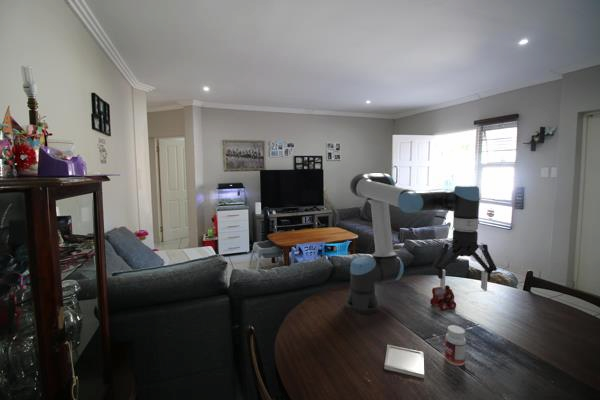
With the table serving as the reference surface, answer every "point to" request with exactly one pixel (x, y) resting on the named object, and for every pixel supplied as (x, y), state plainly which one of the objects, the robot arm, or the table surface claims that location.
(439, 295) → the toy fire truck
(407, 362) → the coaster
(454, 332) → the pill bottle
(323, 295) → the table surface
